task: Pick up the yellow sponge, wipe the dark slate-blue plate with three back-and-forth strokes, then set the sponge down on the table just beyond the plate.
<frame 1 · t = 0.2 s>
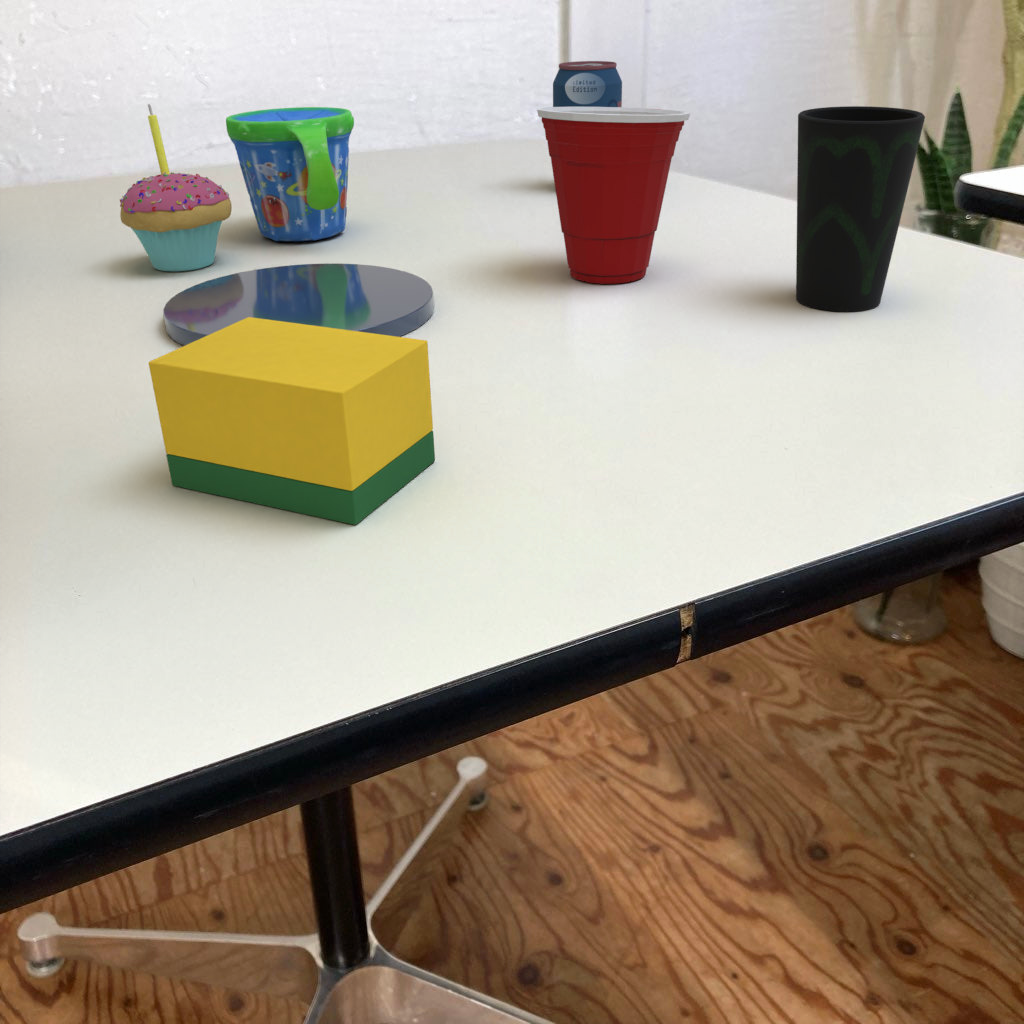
plate: (302, 314, 71), on the table
soda can: (586, 189, 109), on the table
plastic cup: (609, 276, 79), on the table
cupcake: (186, 266, 84), on the table
cup: (837, 302, 71), on the table
sponge: (306, 473, 49), on the table
snack cup: (303, 237, 93), on the table
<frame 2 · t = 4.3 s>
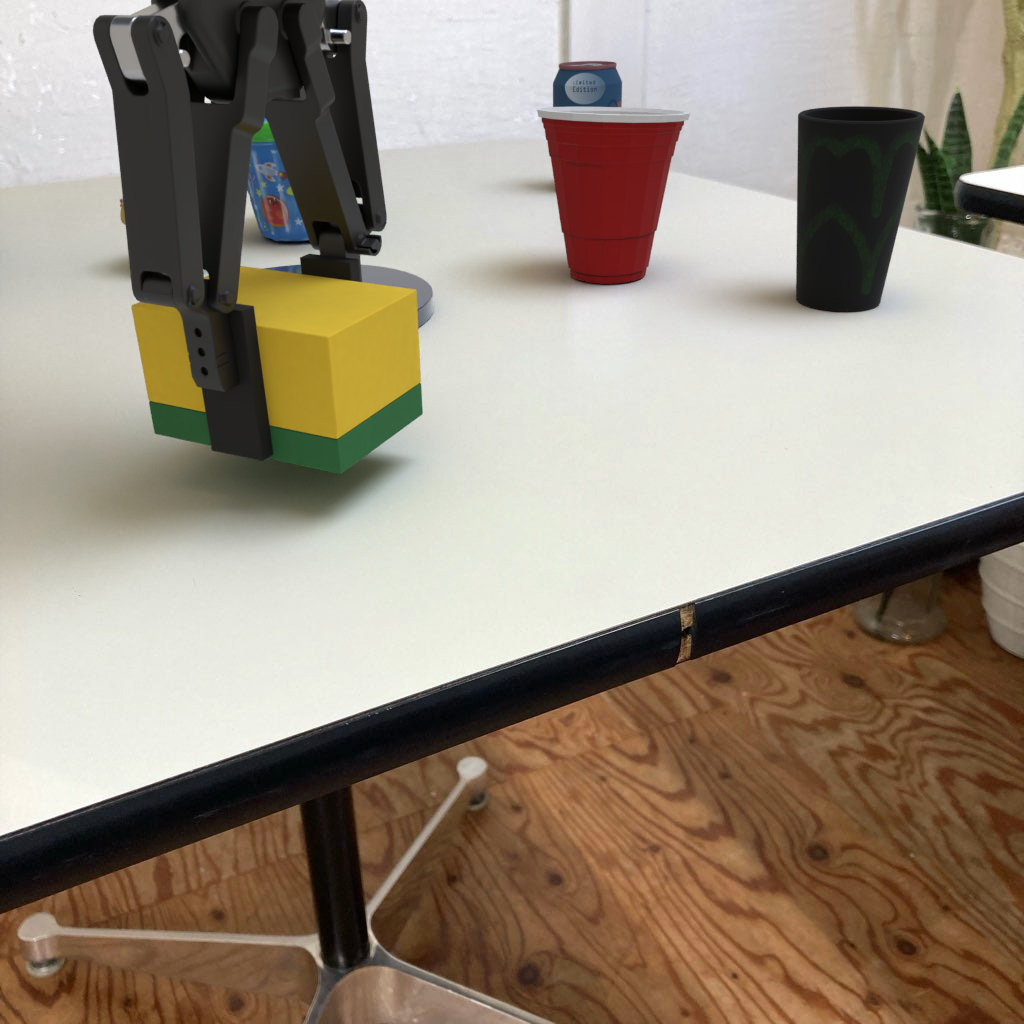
hand: (295, 419, 48), 3 cm above the table, tool pointing down, fingers closed on sponge, 7 cm apart
sponge: (291, 424, 48), point 2 cm above the table, touching gripper
everything else where it was.
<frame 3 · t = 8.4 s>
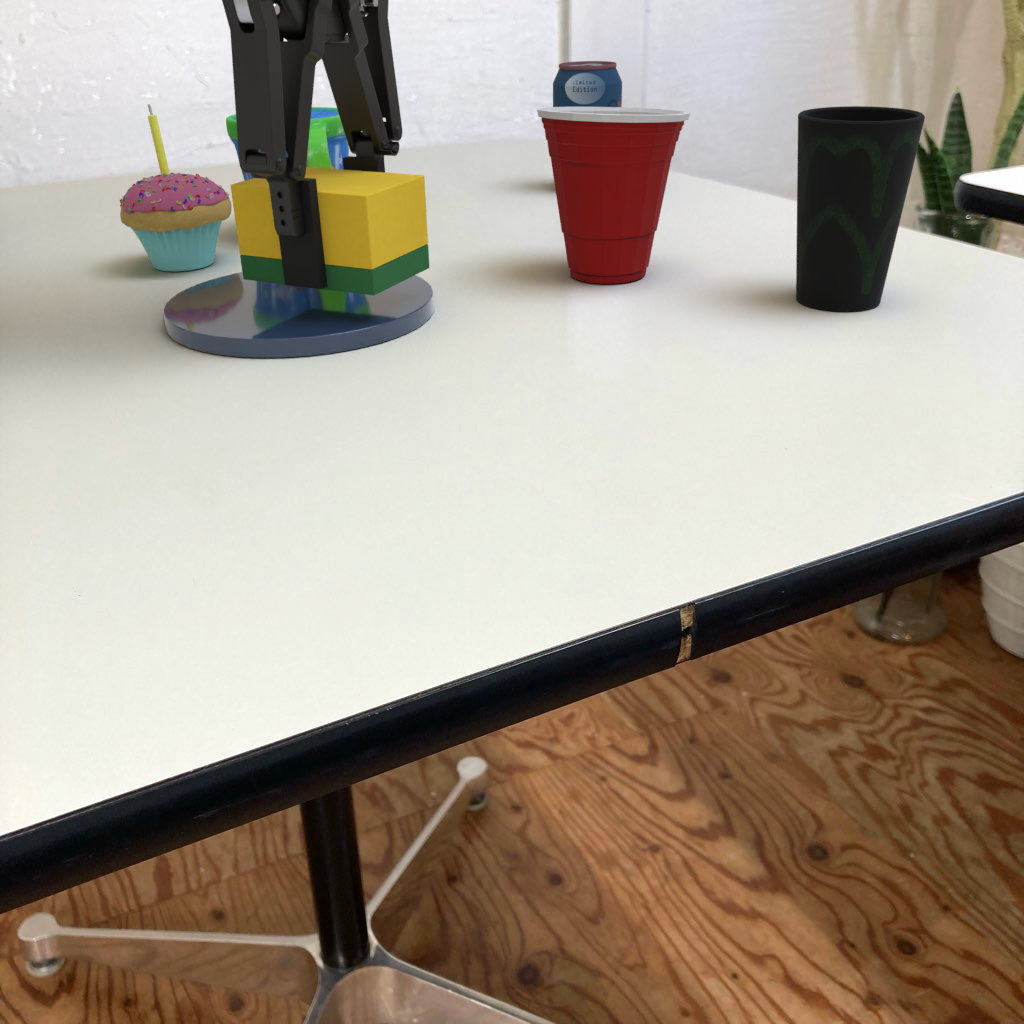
hand: (340, 270, 68), 3 cm above the table, tool pointing down, fingers closed on sponge, 7 cm apart
sponge: (337, 273, 69), point 3 cm above the table, touching gripper
everything else where it was.
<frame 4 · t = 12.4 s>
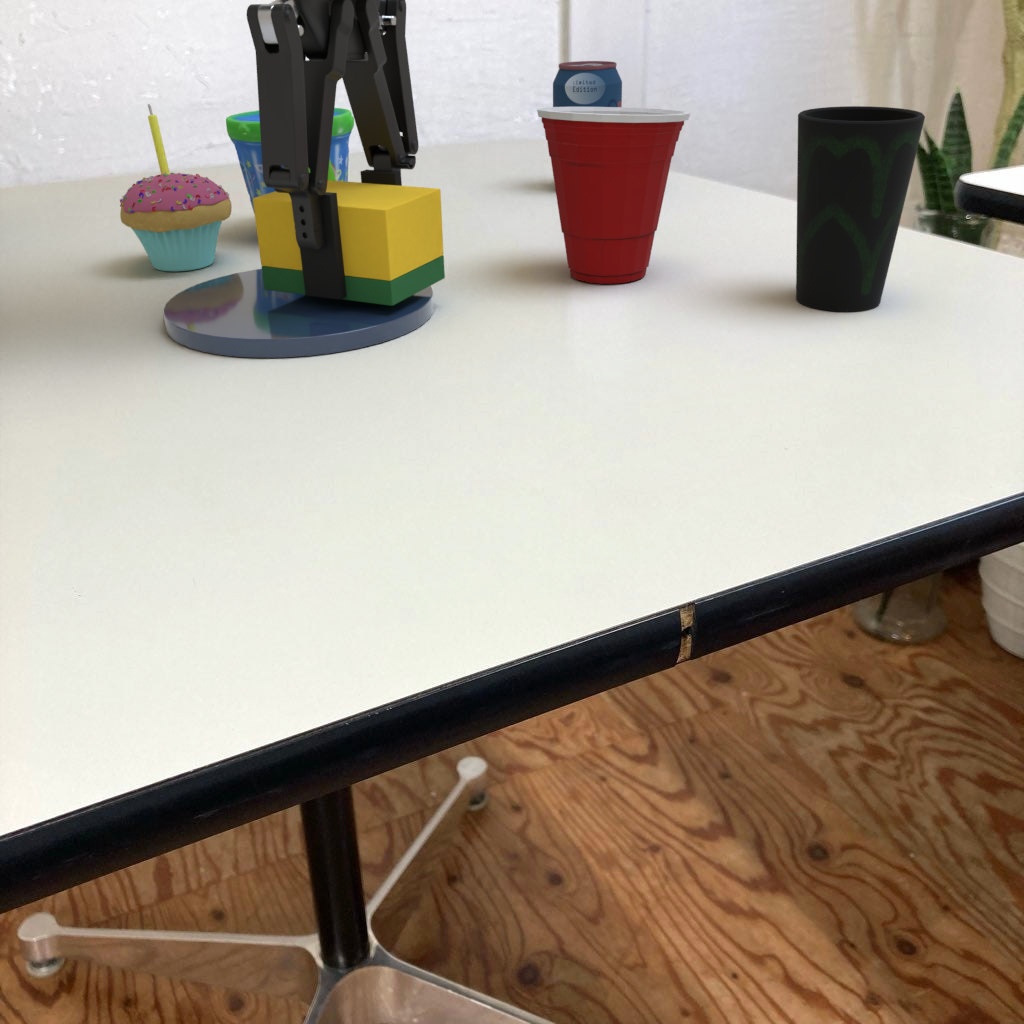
hand: (358, 280, 70), 2 cm above the table, tool pointing down, fingers closed on sponge, 7 cm apart
sponge: (355, 284, 71), point 2 cm above the table, touching gripper
everything else where it was.
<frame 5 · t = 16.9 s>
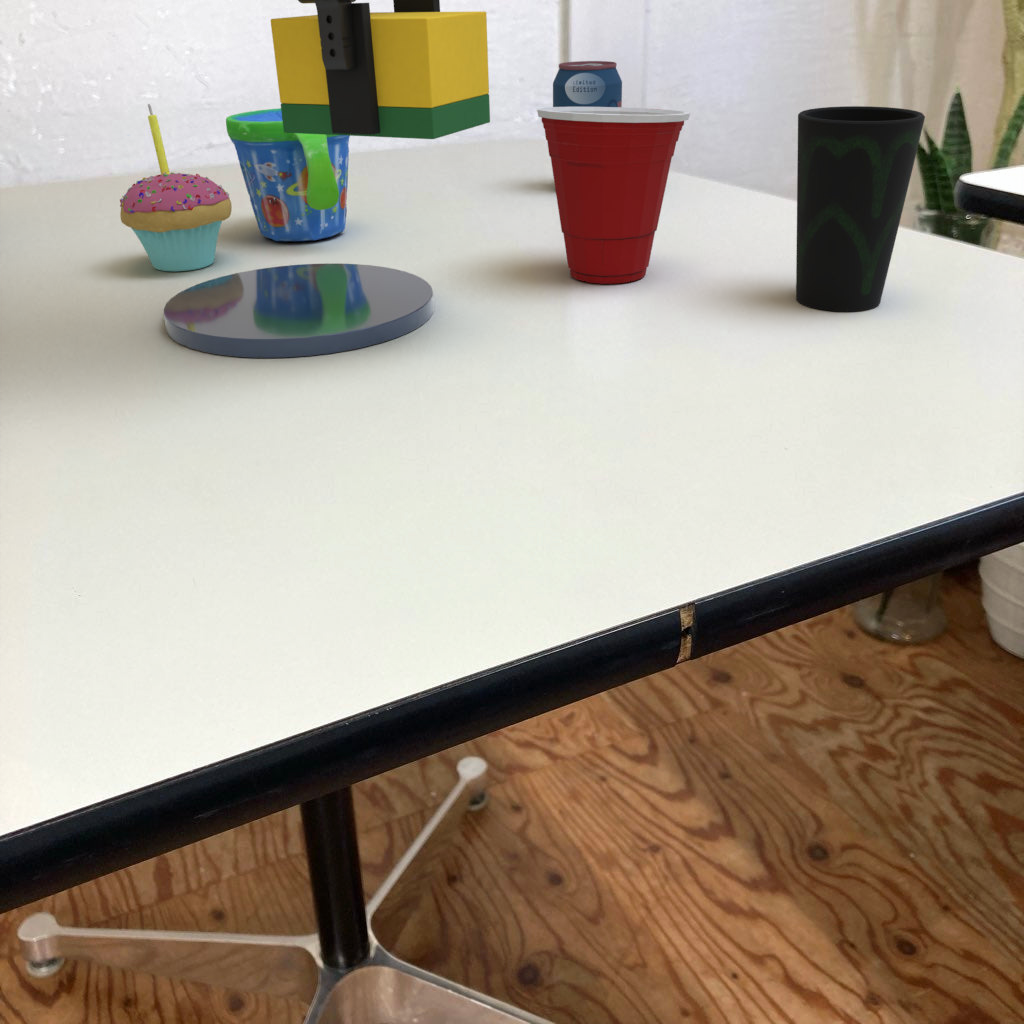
hand: (391, 123, 61), 13 cm above the table, tool pointing down, fingers closed on sponge, 7 cm apart
sponge: (388, 127, 61), point 13 cm above the table, touching gripper
everything else where it was.
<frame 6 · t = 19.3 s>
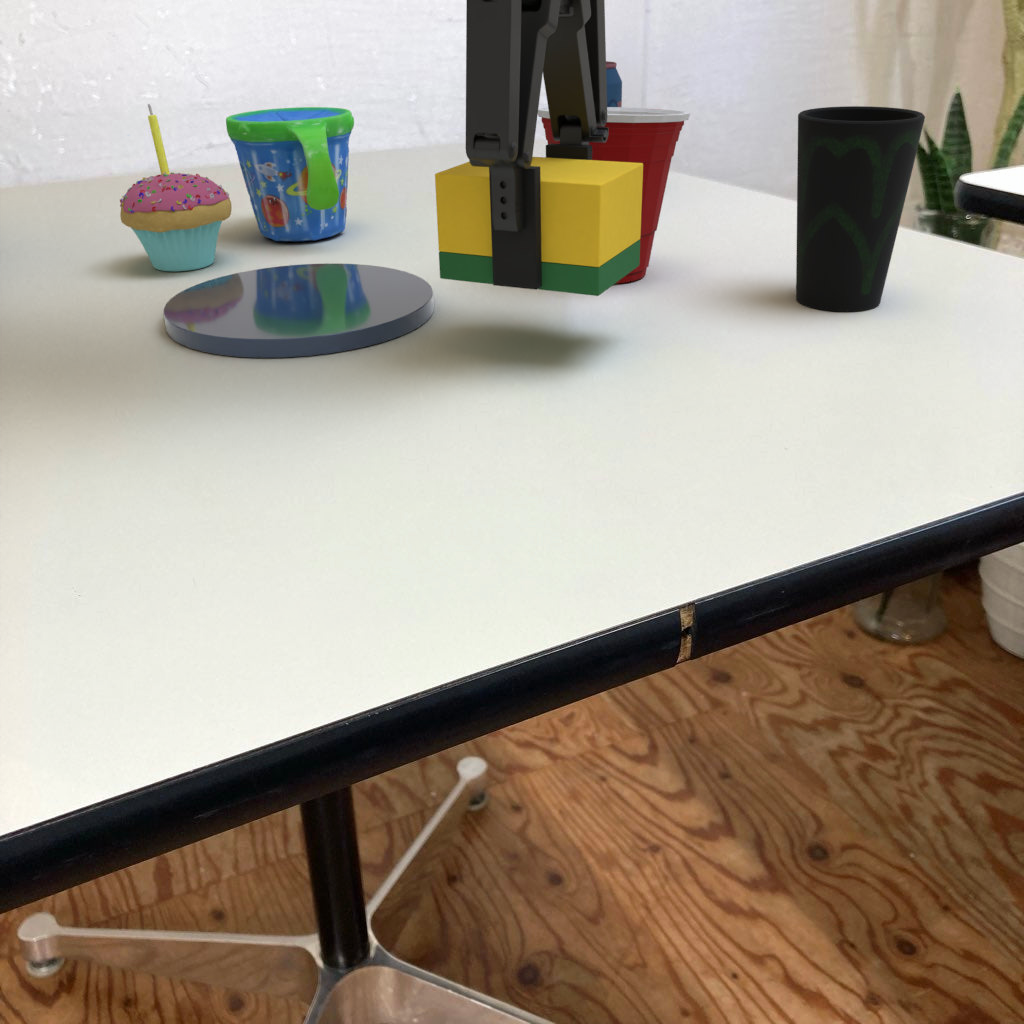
hand: (544, 268, 62), 5 cm above the table, tool pointing down, fingers closed on sponge, 7 cm apart
sponge: (541, 272, 62), point 5 cm above the table, touching gripper
everything else where it was.
when the fingers open (0 cm above the table, at t = 20.8 s): sponge stays where it is, on the table.
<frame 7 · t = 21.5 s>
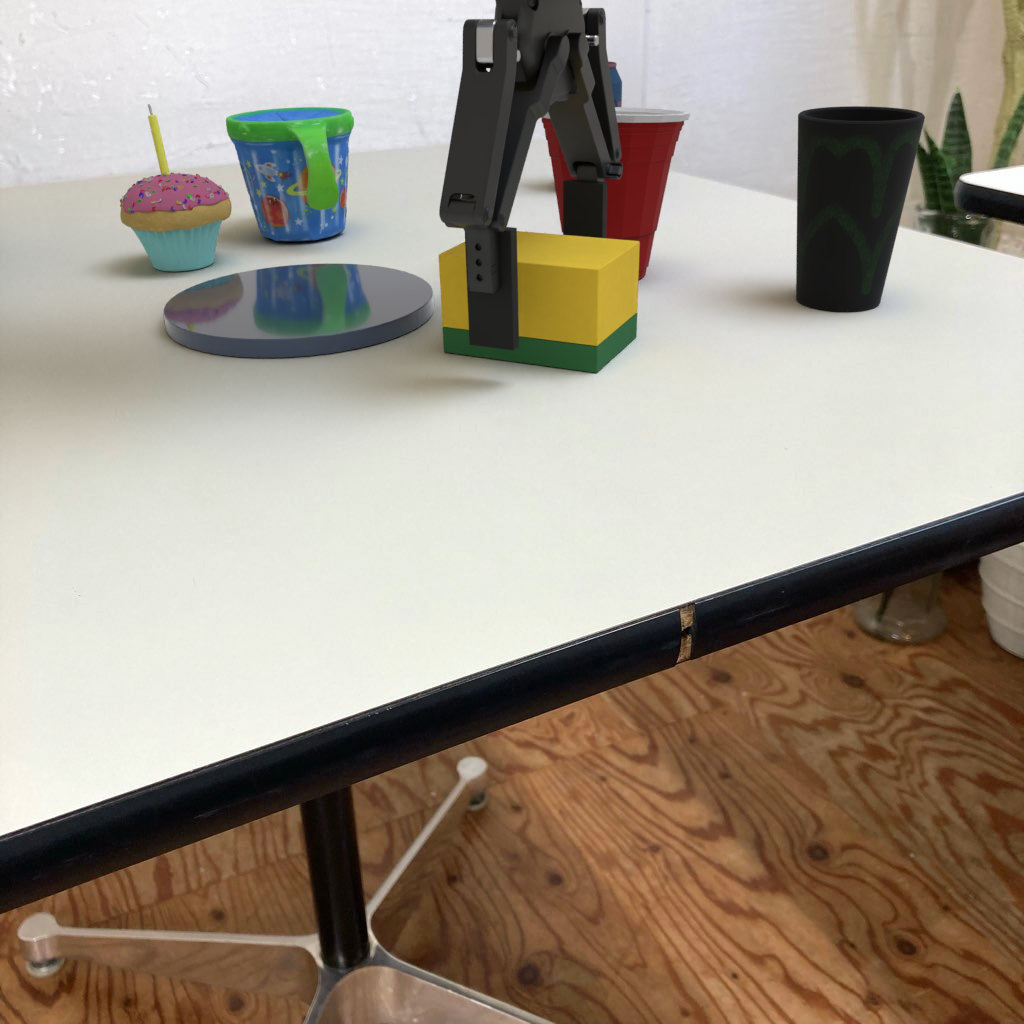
hand: (542, 312, 63), 2 cm above the table, tool pointing down, fingers open, 13 cm apart
sponge: (541, 344, 64), on the table
everything else where it was.
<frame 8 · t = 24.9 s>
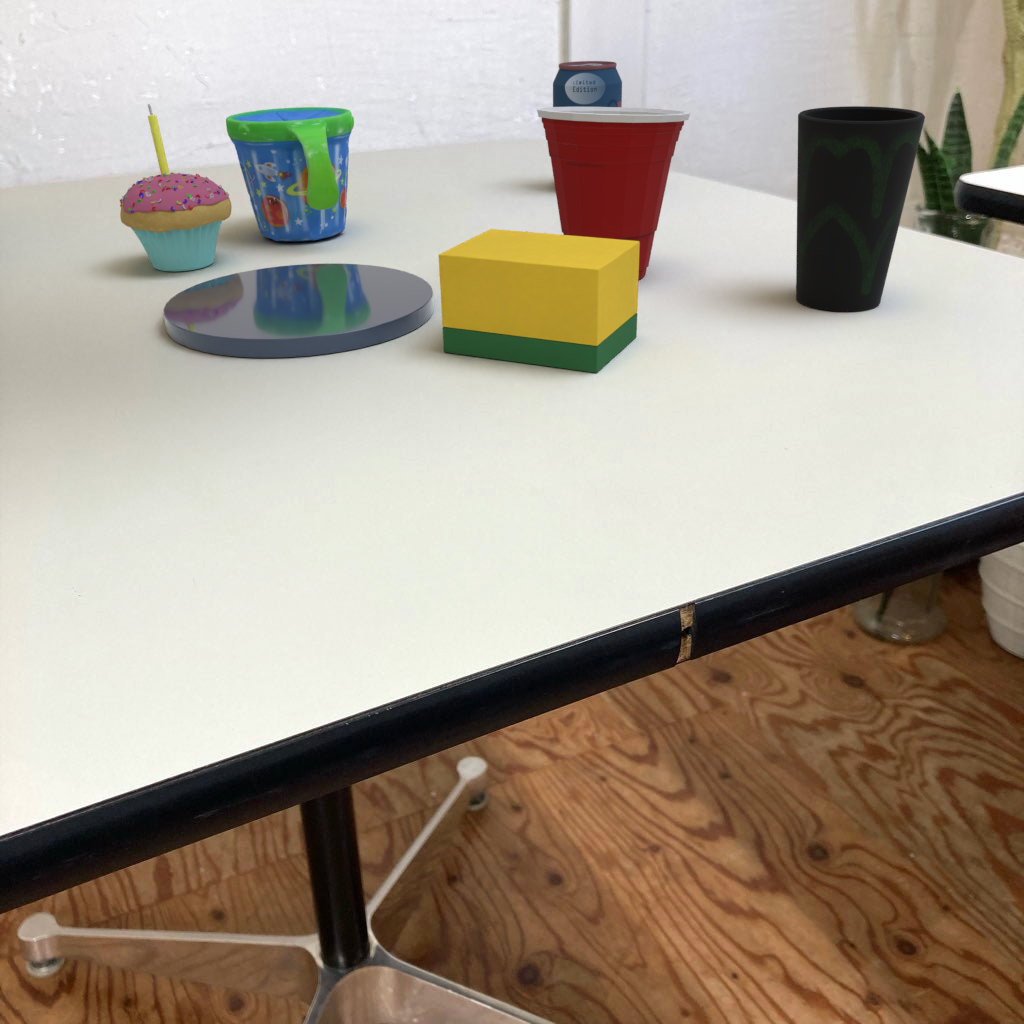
nothing on the table moved.
at the end: sponge inside the target area on the table beside the plate (0.2 cm from its centre), on the table; sponge tilted 0°; the gripper is holding nothing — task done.
